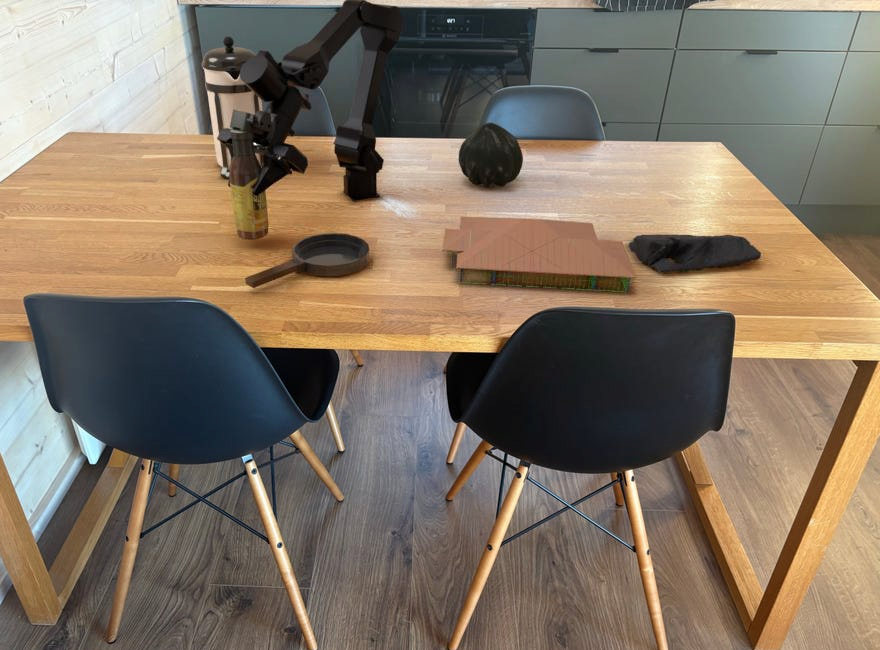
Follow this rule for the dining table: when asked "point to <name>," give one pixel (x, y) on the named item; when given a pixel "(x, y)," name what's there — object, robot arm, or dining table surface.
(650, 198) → the dining table surface
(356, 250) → the cast iron pan
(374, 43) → the robot arm
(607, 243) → the house
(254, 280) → the pan handle
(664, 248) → the dark slate chunk
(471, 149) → the squash
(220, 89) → the coffee press
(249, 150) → the sauce bottle
